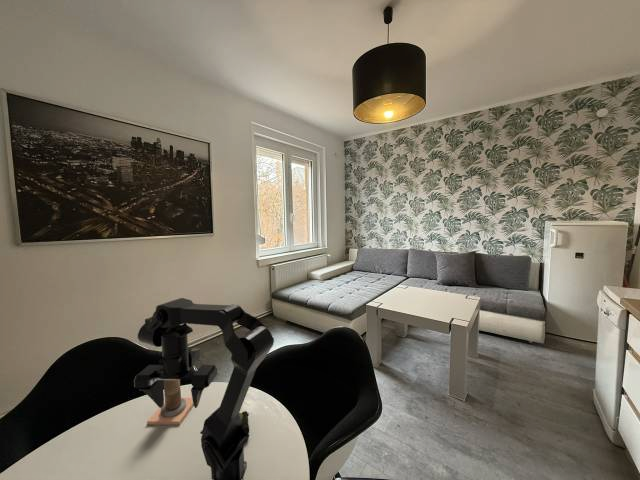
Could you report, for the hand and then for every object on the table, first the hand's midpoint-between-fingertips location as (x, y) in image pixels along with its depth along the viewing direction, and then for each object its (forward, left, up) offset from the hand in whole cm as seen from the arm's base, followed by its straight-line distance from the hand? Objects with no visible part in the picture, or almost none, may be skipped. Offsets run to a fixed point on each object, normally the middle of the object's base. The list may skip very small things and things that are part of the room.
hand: (179, 406), depth 64 cm
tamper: (+11, -14, -12) cm, 21 cm away
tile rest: (+11, -14, -13) cm, 22 cm away
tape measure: (-13, -7, -13) cm, 20 cm away
